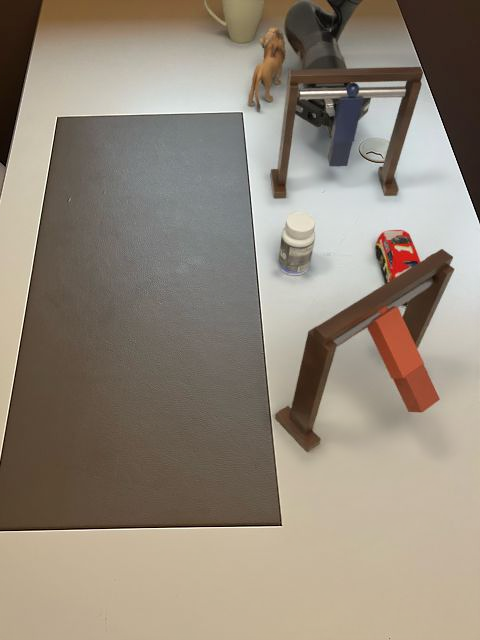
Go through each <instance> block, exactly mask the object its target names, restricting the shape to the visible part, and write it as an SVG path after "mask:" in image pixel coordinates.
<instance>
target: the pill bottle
mask: <svg viewBox="0 0 480 640" xmlns="http://www.w3.org/2000/svg"><path fill="white" fill-rule="evenodd" d="M315 227H316V220H315V218H314V217H313V216H312V215H311V214H309V213H307V212H303V211H295V212H292V213H290V214H288V216H287V217H286V220H285V223H284V227H283V229H282V230H281V236H280V244H279V250H278V256H277V257H278V258H277V266H278V268H279V270H280V271H281V272H282V273H284V274H286V275H289V276H301V275H303V274H305V273H306V272H307V271H308V270H309V268H310V266H311V261H312V256H313V251H314V246H315V242H316V241H315V240H316V232H315Z"/></svg>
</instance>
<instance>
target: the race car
mask: <svg viewBox="0 0 480 640" xmlns="http://www.w3.org/2000/svg"><path fill="white" fill-rule="evenodd" d="M375 256H376V259H377V260H378V264H379V266H380V269H381V274H382V277H383V280H384V282H385V284H386V283H388V282H389V281H391V280H393V279H394V278H396V277H397V276H399V275H401V274H402V273H404V272H405V271H407V270H409V269H410V268H412V267H413V266H415V265H417V264H418V263H420V262H421V260H420V257H419V253H418V251H417V249H416V246H415V243H414V242H413V239H412V237H411V235H410V233H408V232H407V231H406V230H404V229H389V230H388V229H387V230H385V231H382V232H381V233H380V235H379V236H378V237H377V240H376V243H375ZM408 302H409V301H407V302H406V303H404V304H403V305H407V304H408Z"/></svg>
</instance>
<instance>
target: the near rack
mask: <svg viewBox="0 0 480 640" xmlns="http://www.w3.org/2000/svg"><path fill="white" fill-rule="evenodd" d="M453 259H454V256H452V255H451V254H450V253H449V252H447V251H446V250H444V249H443V248H441V249H439V250H438V251H436V252H435V253H431V254H430V255H429V256H426V258H425V259H423V260H422V261H421V260H420V263H418V264H417V265H415V266H413V267H412V268H410V269H409V270H407V271H405V272H404V273H402V274H401V275H399V276H397V277H396V278H394V279H393V280H391V281H389V282H388V283H385V284H383V285H382V286H380V287H377V289H375V290H373V291H372V292H370V293H369V294H367V295H364V296H363V297H361V298H360V299H359V300H357V301H355V302H354V303H353V304H351V305H349V306H347V307H346V308H344V309H342V310H341V311H340V312H338V313H336V314H335V315H333V316H331V317H330V318H328V319H327V320H325V321H323V322H322V323H320V324H319V325H316V326H314V327H312V328H311V329H309V330H308V331H307V336H306V339H305V340H306V341H305V345H304V349H303V352H302V353H303V354H302V358H301V363H300V368H299V371H298V376H297V381H296V384H295V385H296V386H295V390H294V394H293V398H292V404H291V406H289V405H286V406H285V407H283V408H282V409H280V410H279V411H277V412H276V413H275V416H274V419H275V420H276V421H277V422H278V423H279V424H280V426H282V427H283V429H284V430H285V431H286V432H287V433H288V434H289V435H290V436H291V437H292V438H293V439H294V440H295V441H296V443H298V444H299V445H300V446H301V448H302V449H304V451H305V452H306V453H309V452H311V451H312V450H313V449H315V448H316V447H317V446H319V445H320V443H321V441H322V439H321V437H319V435H317V434H316V432H315V431H314V427H315V423H316V419H317V416H318V412H319V408H320V406H321V402H322V399H323V395H324V391H325V388H326V386H327V382H328V378H329V375H330V370H331V368H332V365H333V361H334V357H335V353H336V351H337V348H338V347H337V344H336V343H335V342H334V341H333V339H335V338H336V337H338V336H339V335H341V334H342V333H344V332H346V331H347V330H349V329H350V328H352V327H353V326H355V325H357V324H358V323H360V322H361V321H363V320H364V319H366V318H368V317H369V316H371V315H372V314H374V313H375V312H377V311H378V310H380V309H382V308H383V307H385V306H386V305H388V304H389V303H391V302H393V301H394V300H396V299H397V298H399V297H400V296H402V295H404V294H405V293H407V292H408V291H410V290H411V289H413V288H415V287H416V286H418V285H419V284H421V283H422V282H424V281H425V280H427V279H429V278H430V277H432V279H433V281H434V283H433V285H432V286H431V287H429V288H428V289H426V290H425V291H423V292H421V293H420V294H418V295H417V296H415V297H414V298H412V299H411V300H409V302H408V304H406V307H405V309H404V312H403V314H402V317H403V320H404V322H405V324H406V326H407V328H408V330H409V332H410V334H411V337H412V339H413V341H414V343H415V345H416V347H417V349H419V347H420V344H421V343H422V340H423V338H424V336H425V334H426V332H427V329H428V327H429V325H430V323H431V321H432V319H433V317H434V315H435V313H436V310H437V308H438V307H439V304H440V302H441V300H442V298H443V295H444V293H445V291H446V289H447V286H448V284H449V282H450V280H451V279H452V276H453V273H455V268H454V267H453V266H451V263H452V261H453Z"/></svg>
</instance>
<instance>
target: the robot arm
mask: <svg viewBox="0 0 480 640" xmlns="http://www.w3.org/2000/svg"><path fill="white" fill-rule="evenodd" d="M363 1H364V0H326V2H327V3H328V5H329V6H330V8H331V9H332V10H333V11H332V12H331V13H330V12H328V11H327V10H325V9H324V8H323V7H321V6H320V5H318V4H317V3H315V2H314V1H313V0H298V1H296V2H294V3H293V5H291V6H290V8H289V9H288V11H287V13H286V16H285V19H284V24H283V27H284V28H283V29H284V35H285V38H286V41H287V43H288V44H289V46H290V47H291V49H292V51H293V52H294V53H295V55H296V56H297V57H298V59H299V65H300V70H304V69H346V68H348V67H347V65H346V61H345V57H344V56H343V54H342V52H341V50H340V46H339V40H340V38H341V36H342V34H343V32H344V29H345V28H346V26H347V24H348V22H349V21H350V19H351V18H352V16H353V14H354V13H355V11H356V10H357V8H358V7H359V6H360V4H362V2H363ZM350 83H352V82H350ZM348 84H349V83H308V84H302V85H303V89H312V88H346V86H347V85H348ZM371 100H372V98H363V103H362V107H361V112H360V116H359V120H358V122H359V121H360V120H361V119H362V118H363V117H364V116H365V115H366V114H367V113H368V112H369V108H370V106H371ZM337 101H338V99H300V100H299V99H298V97H297V105H296V112H295V116H298V117H299V118H301V119H302V120H304V121H306V122H307V123H308V124H310V125H312V126H314V127H315V128H321V127H322V126H324V127H325V129H326V130H327V134H328V137H329V139H331V138H332V136H331V132H332V127H333V122H334V116H335V111H336V106H337Z"/></svg>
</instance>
